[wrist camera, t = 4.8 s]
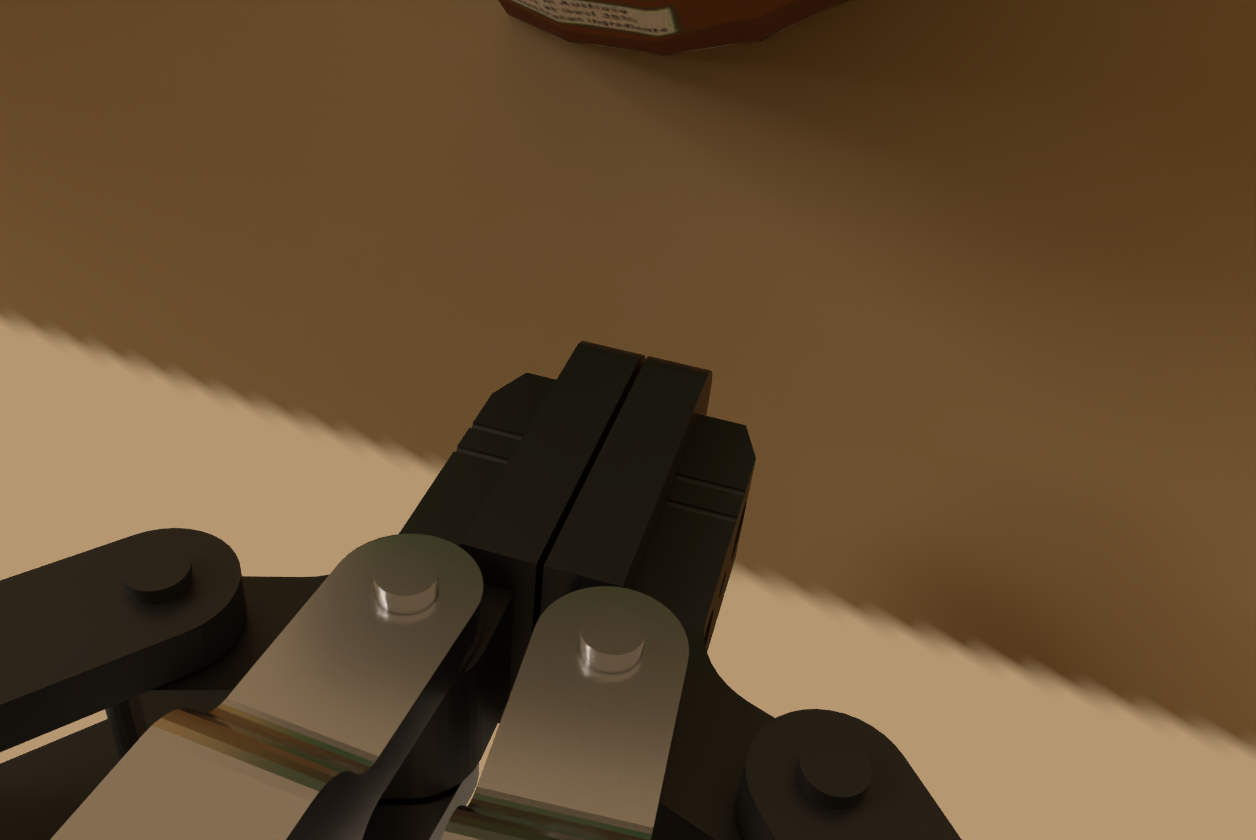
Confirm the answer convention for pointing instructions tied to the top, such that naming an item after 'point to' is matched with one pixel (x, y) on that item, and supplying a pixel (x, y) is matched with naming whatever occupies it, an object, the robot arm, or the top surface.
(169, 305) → the top surface
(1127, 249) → the top surface
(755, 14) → the food container
